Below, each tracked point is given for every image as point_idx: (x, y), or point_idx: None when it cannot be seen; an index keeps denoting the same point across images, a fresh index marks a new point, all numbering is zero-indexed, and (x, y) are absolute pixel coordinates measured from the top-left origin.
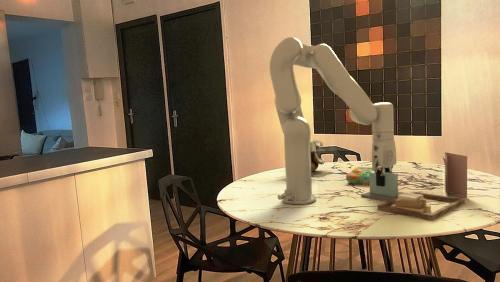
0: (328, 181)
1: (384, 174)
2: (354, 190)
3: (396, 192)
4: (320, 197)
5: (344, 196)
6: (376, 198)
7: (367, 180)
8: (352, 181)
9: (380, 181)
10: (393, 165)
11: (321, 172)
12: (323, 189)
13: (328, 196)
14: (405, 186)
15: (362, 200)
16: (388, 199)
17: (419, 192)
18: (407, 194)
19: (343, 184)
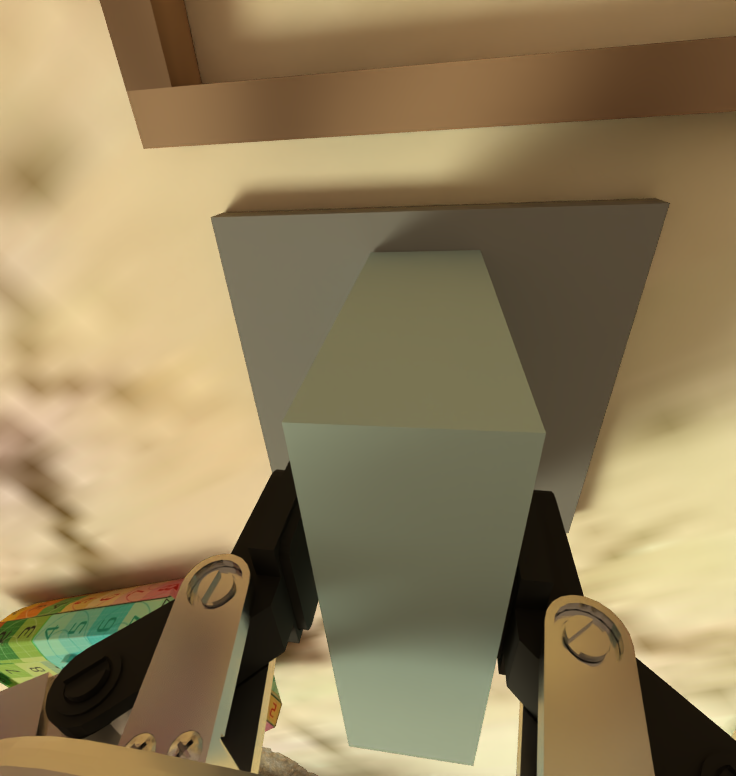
0: (316, 723)
1: (504, 607)
2: None
3: (409, 263)
4: (722, 685)
5: (616, 599)
6: (605, 387)
7: None
8: None
9: (560, 524)
10: (100, 749)
11: None
12: (493, 709)
13: (667, 662)
14: (12, 394)
15: (704, 463)
16: (659, 232)
17: (115, 12)
18: None
19: (315, 672)
